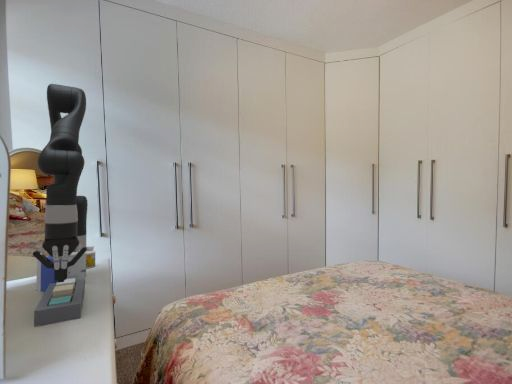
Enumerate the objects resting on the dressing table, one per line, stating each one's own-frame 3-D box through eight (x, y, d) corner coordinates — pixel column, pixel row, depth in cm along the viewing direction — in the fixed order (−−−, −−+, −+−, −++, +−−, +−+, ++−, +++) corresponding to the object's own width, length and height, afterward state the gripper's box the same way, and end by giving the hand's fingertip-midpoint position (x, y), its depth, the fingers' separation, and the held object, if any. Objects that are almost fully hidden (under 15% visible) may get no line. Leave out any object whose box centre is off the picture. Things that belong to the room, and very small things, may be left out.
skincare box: (65, 288, 97) (66, 254, 97) (66, 284, 101) (66, 252, 101) (86, 285, 101) (86, 252, 101) (85, 282, 104) (86, 250, 104)
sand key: (54, 298, 83) (54, 286, 83) (73, 295, 86) (73, 284, 86) (52, 303, 79) (52, 291, 79) (72, 300, 82) (72, 288, 82)
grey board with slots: (49, 295, 90) (49, 283, 90) (84, 290, 95) (84, 279, 95) (34, 326, 70) (34, 311, 70) (80, 318, 75) (80, 303, 75)
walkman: (61, 290, 95) (61, 256, 95) (53, 292, 93) (53, 258, 93) (44, 287, 97) (44, 254, 98) (36, 290, 95) (36, 256, 95)
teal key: (51, 310, 77) (51, 298, 77) (71, 307, 80) (71, 295, 80) (48, 317, 73) (48, 304, 73) (69, 313, 75) (69, 301, 75)
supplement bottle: (78, 268, 122) (78, 247, 123) (87, 265, 128) (87, 244, 128) (89, 269, 122) (89, 247, 122) (97, 265, 127) (98, 245, 127)
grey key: (57, 290, 89) (58, 280, 89) (75, 288, 92) (75, 278, 92) (55, 295, 85) (56, 284, 85) (74, 292, 88) (74, 282, 88)
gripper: (89, 218, 83) (88, 274, 83) (34, 220, 76) (34, 281, 77) (88, 221, 77) (87, 281, 77) (28, 223, 70) (27, 289, 70)
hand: (61, 281), depth 77 cm, fingers closed
